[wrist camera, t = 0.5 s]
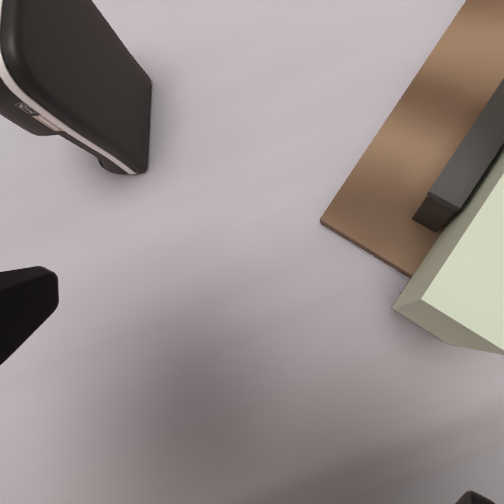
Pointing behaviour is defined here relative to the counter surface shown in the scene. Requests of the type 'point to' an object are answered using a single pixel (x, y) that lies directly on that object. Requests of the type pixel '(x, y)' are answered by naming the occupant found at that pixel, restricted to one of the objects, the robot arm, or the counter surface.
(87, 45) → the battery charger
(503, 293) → the bar
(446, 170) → the wooden channel stand
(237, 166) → the counter surface
